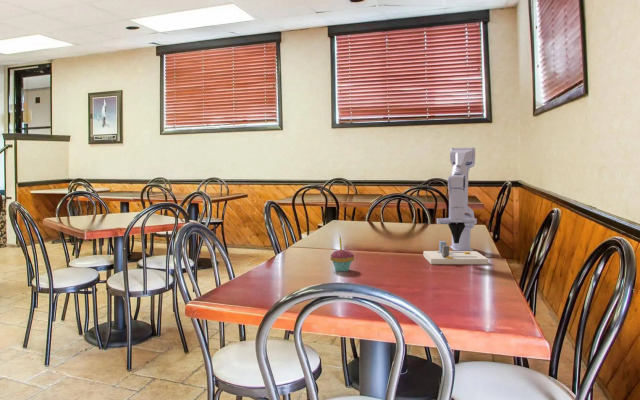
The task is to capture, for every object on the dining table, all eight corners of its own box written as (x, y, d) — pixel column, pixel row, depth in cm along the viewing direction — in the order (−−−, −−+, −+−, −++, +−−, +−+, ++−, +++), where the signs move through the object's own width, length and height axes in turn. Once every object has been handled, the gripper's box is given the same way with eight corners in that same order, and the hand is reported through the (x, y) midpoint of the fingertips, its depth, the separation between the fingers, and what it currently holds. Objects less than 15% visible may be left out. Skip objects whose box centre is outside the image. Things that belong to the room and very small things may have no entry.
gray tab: (441, 255, 176) (441, 244, 175) (446, 255, 176) (447, 244, 175) (443, 256, 173) (443, 246, 172) (448, 256, 173) (449, 246, 172)
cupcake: (326, 268, 165) (326, 235, 164) (347, 266, 168) (347, 233, 167) (336, 273, 157) (336, 238, 156) (358, 271, 160) (358, 237, 159)
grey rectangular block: (439, 250, 185) (439, 240, 184) (444, 250, 185) (444, 240, 184) (440, 252, 182) (440, 242, 181) (445, 252, 182) (446, 242, 181)
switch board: (423, 255, 186) (423, 249, 186) (475, 256, 185) (476, 249, 185) (431, 264, 171) (431, 257, 171) (488, 264, 170) (488, 257, 170)
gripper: (439, 208, 169) (439, 244, 170) (479, 208, 168) (478, 244, 169) (435, 206, 176) (435, 241, 177) (474, 206, 175) (473, 241, 176)
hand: (456, 242), depth 174 cm, fingers closed
